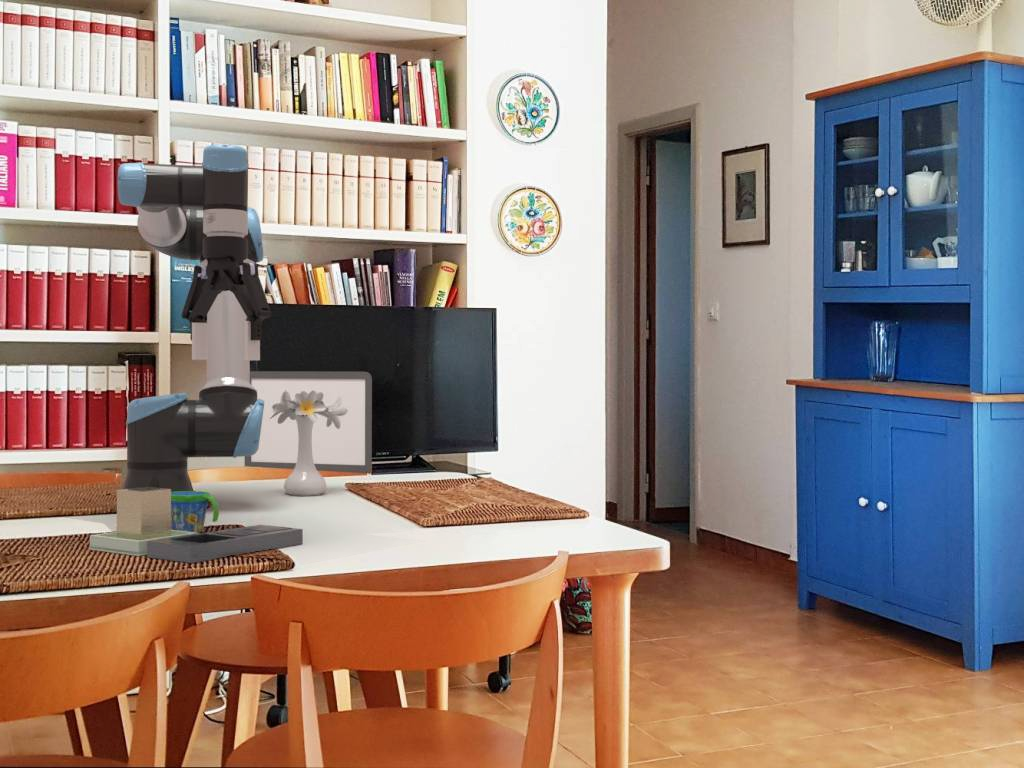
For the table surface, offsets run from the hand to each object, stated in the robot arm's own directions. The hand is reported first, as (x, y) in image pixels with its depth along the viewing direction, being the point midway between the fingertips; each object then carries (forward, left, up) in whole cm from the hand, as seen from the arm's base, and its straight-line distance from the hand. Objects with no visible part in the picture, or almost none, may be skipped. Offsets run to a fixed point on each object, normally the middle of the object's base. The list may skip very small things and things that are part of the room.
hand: (225, 360), depth 202 cm
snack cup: (-10, 0, -31) cm, 33 cm away
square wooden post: (-3, -15, -30) cm, 34 cm away
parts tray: (-3, -15, -31) cm, 34 cm away
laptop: (-61, +75, -31) cm, 101 cm away
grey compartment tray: (+10, -9, -31) cm, 34 cm away
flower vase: (-31, +53, -31) cm, 69 cm away
